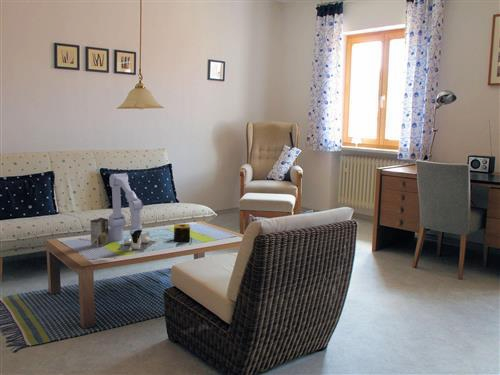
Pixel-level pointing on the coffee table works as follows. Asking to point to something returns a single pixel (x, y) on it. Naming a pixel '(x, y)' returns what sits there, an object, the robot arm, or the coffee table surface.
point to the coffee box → (99, 232)
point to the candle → (181, 233)
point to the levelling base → (128, 247)
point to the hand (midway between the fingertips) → (136, 242)
